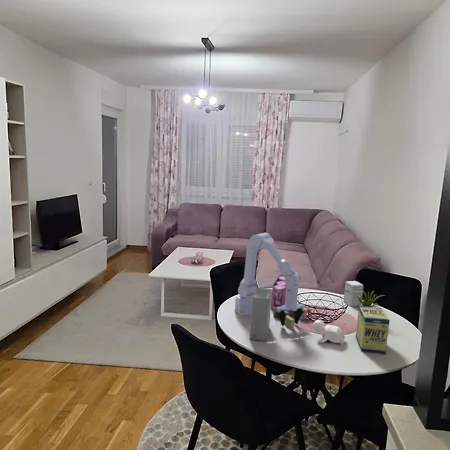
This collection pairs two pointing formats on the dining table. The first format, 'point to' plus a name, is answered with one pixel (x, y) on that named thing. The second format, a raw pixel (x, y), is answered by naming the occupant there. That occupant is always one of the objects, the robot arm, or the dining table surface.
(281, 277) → the gum box
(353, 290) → the supplement box
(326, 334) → the white animal figurine
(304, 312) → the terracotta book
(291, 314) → the shelf
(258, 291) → the hard drive box
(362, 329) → the protein box
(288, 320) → the olive book
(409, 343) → the dining table surface
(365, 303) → the house plant
